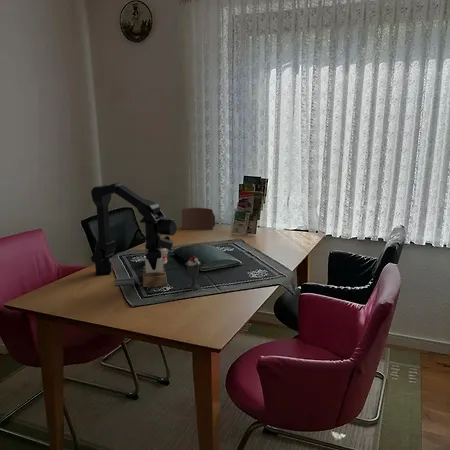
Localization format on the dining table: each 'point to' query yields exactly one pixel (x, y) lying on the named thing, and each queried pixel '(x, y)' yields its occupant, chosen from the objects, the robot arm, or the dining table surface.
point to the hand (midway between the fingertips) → (153, 268)
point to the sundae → (193, 270)
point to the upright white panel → (158, 266)
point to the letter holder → (198, 219)
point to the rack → (154, 278)
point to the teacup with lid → (164, 255)
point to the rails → (124, 281)
